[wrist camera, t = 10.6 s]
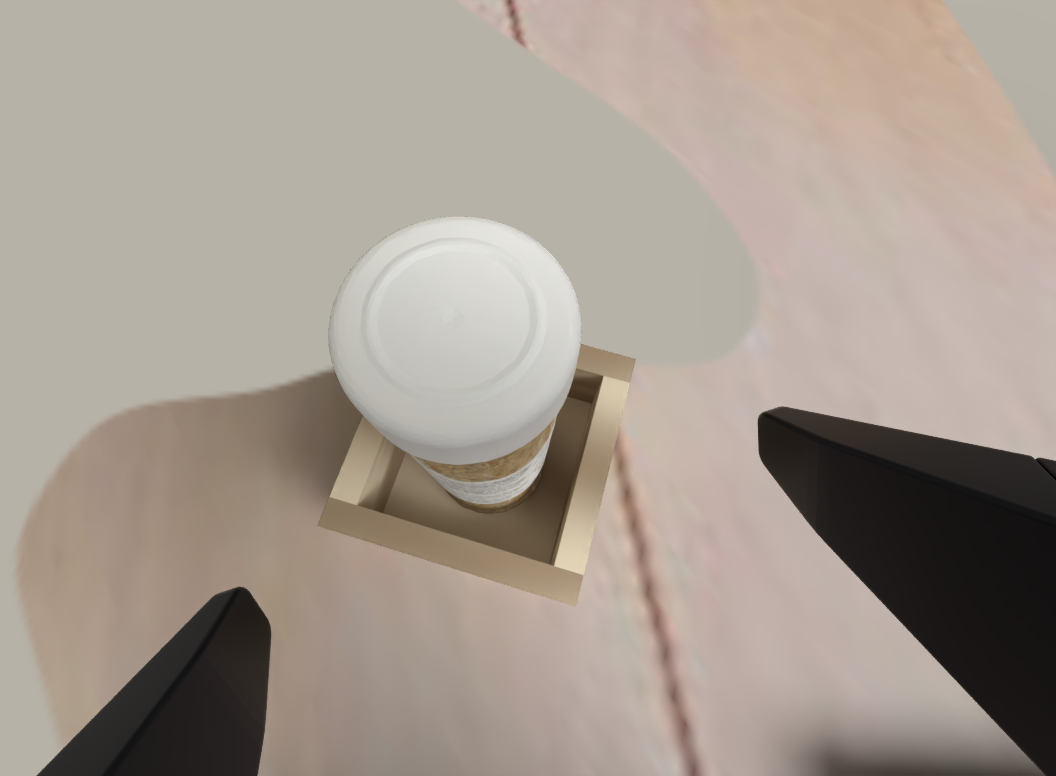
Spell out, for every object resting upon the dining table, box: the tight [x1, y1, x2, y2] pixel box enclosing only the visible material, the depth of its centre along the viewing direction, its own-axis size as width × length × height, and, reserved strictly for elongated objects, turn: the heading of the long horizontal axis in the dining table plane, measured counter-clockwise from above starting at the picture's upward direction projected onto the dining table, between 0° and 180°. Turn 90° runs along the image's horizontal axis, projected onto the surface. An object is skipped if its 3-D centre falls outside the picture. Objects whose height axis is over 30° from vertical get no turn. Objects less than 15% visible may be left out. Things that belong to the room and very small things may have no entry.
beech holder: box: [317, 344, 636, 607], centre depth 21 cm, size 9×9×4 cm
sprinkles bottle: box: [329, 216, 582, 514], centre depth 15 cm, size 5×5×13 cm
